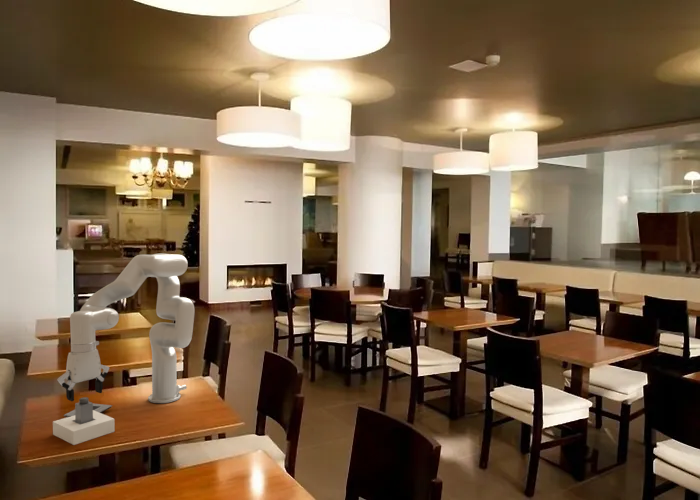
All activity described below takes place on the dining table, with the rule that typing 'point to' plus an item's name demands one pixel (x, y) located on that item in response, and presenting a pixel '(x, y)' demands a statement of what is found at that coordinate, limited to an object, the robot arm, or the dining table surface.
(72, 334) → the robot arm
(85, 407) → the plug
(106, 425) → the socket
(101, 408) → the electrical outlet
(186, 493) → the dining table surface
